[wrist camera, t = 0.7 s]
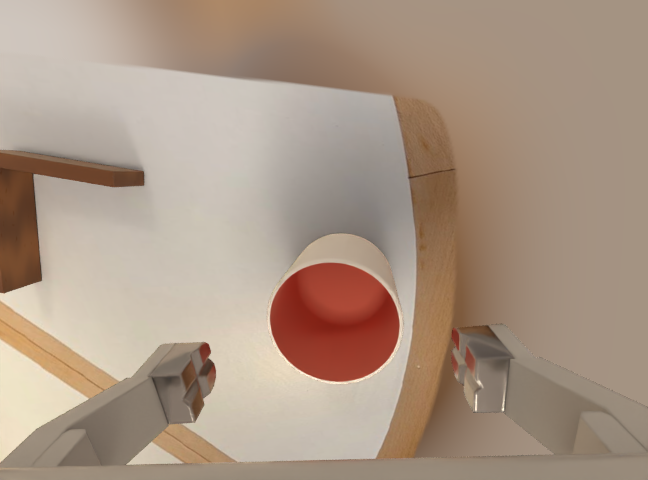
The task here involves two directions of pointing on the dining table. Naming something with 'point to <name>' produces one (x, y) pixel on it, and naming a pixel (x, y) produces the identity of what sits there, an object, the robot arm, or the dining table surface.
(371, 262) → the cup
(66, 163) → the corner
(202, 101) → the dining table surface
